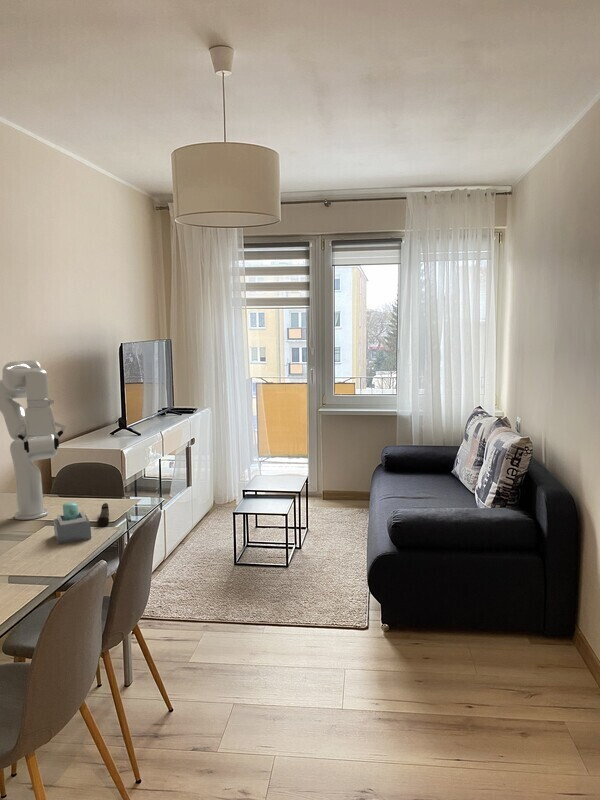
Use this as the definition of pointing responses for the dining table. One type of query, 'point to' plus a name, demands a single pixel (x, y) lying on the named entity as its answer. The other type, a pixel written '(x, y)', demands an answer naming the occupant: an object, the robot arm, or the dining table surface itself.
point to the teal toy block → (70, 511)
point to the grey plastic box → (72, 529)
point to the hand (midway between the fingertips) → (42, 450)
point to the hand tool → (104, 515)
